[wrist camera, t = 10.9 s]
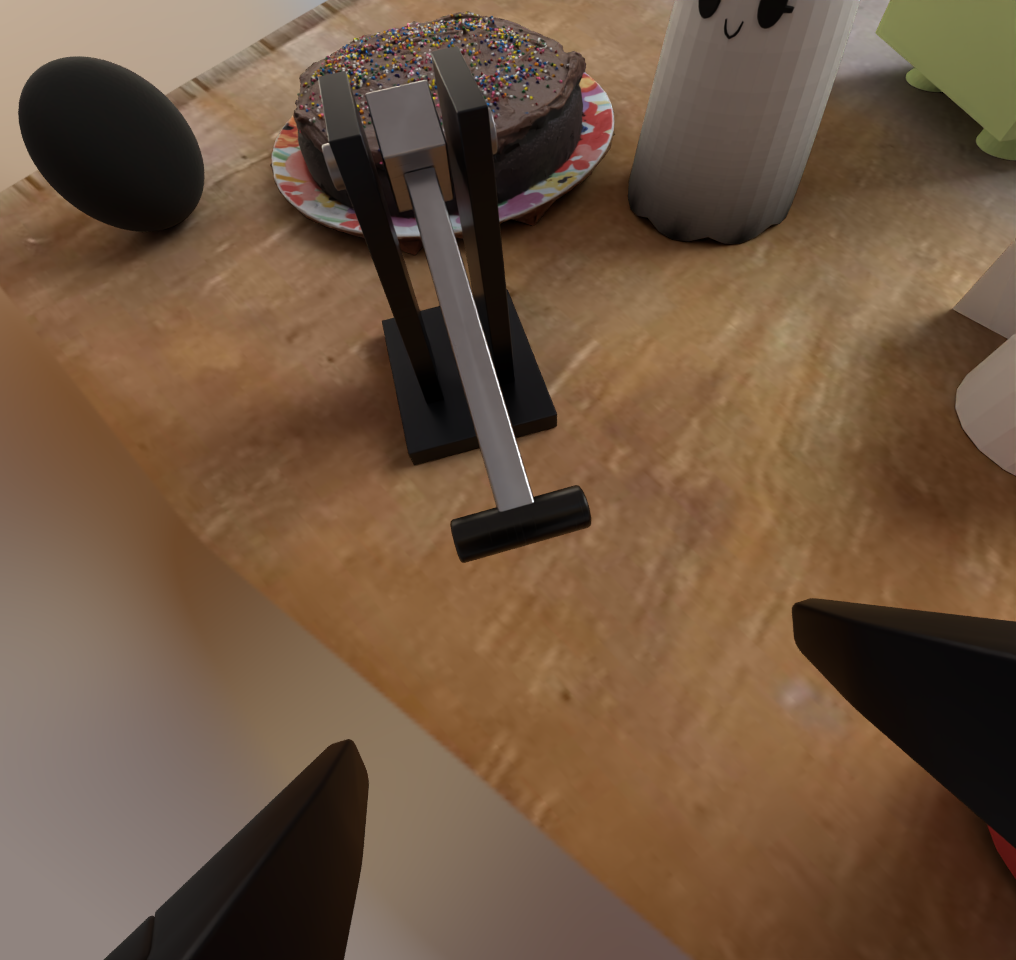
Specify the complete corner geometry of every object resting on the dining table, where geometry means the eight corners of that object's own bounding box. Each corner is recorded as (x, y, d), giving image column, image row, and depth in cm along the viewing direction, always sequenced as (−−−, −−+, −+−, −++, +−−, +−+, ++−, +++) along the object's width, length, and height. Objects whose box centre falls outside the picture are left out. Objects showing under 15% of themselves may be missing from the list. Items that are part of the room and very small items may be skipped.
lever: (585, 530, 15) (598, 521, 13) (464, 565, 15) (456, 561, 13) (459, 136, 19) (452, 72, 16) (359, 159, 19) (337, 97, 16)
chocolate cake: (405, 44, 49) (386, -47, 44) (666, 91, 41) (685, -14, 35) (207, 199, 39) (148, 105, 33) (505, 302, 31) (494, 202, 25)
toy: (599, 215, 34) (630, -112, 21) (668, 136, 38) (732, -181, 25) (754, 266, 31) (909, -89, 17) (813, 174, 34) (978, -174, 21)
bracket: (557, 427, 26) (564, 140, 13) (414, 465, 26) (283, 207, 13) (509, 303, 31) (480, 5, 18) (387, 334, 30) (271, 50, 18)
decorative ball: (191, 167, 41) (94, 14, 33) (256, 208, 38) (167, 49, 29) (84, 228, 38) (-55, 78, 30) (144, 279, 35) (6, 125, 26)
